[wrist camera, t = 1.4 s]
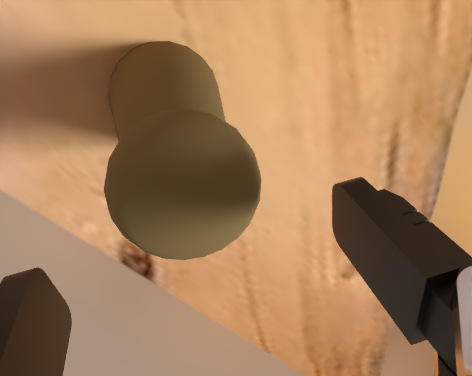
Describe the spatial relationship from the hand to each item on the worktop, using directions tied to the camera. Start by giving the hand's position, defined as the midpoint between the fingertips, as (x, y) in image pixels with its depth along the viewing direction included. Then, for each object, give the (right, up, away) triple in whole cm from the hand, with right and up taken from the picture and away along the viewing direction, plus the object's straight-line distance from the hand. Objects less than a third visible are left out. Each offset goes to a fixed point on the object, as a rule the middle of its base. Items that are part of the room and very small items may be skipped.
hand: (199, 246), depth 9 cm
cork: (-3, +7, +10) cm, 12 cm away
